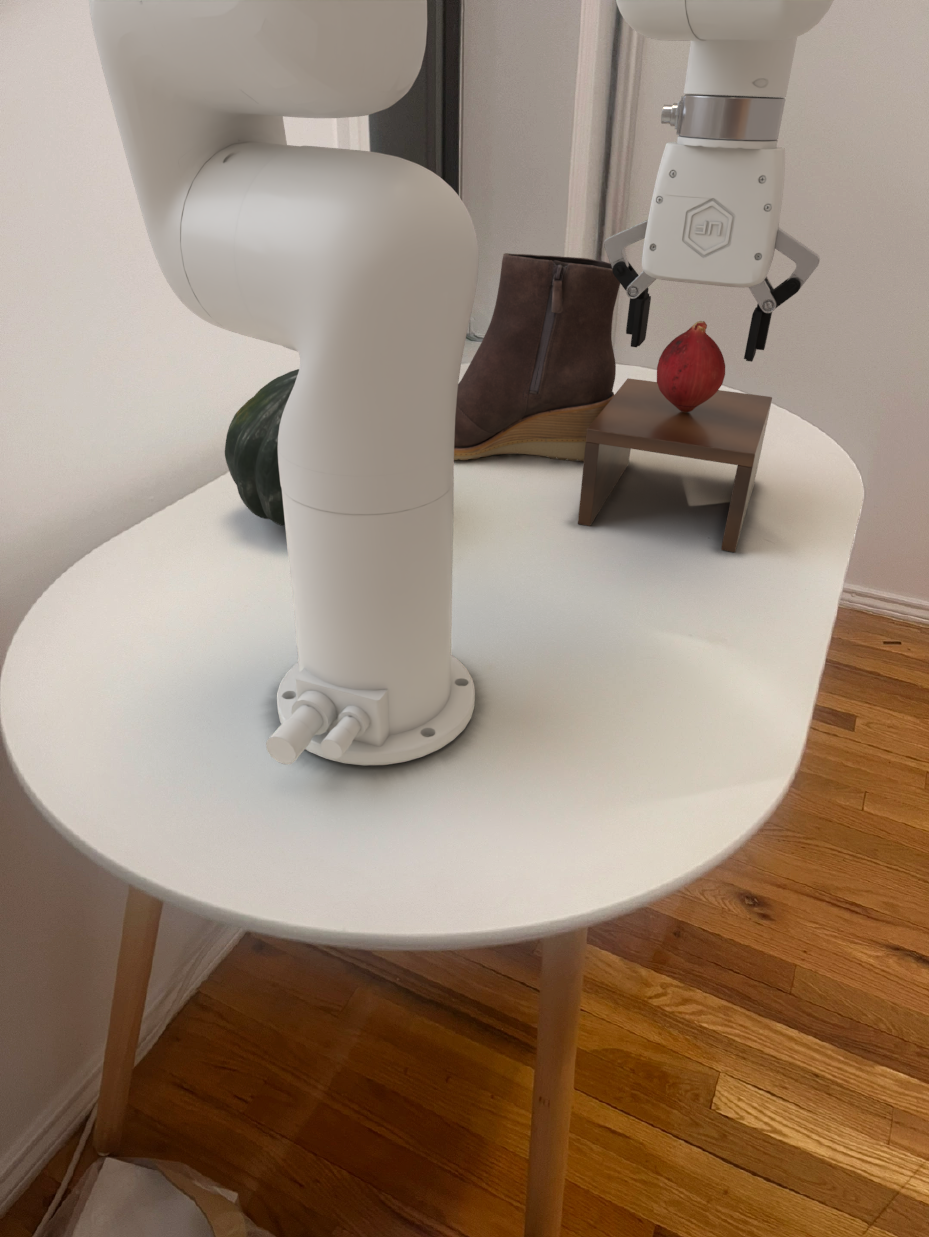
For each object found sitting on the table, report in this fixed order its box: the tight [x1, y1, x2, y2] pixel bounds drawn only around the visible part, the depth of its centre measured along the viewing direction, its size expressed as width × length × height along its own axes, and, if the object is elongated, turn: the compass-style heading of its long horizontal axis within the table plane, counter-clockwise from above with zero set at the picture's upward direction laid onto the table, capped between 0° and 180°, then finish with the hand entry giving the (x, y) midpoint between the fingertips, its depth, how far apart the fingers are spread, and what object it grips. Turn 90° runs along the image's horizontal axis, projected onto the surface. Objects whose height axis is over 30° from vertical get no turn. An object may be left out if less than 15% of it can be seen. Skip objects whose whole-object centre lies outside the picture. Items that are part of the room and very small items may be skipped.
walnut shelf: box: [577, 377, 773, 553], centre depth 82 cm, size 16×14×9 cm
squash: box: [224, 368, 299, 527], centre depth 77 cm, size 14×15×15 cm
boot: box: [454, 252, 621, 462], centre depth 90 cm, size 9×24×20 cm, turn 84°
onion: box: [656, 320, 726, 413], centre depth 77 cm, size 6×6×8 cm
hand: (692, 350), depth 76 cm, fingers open, 9 cm apart
